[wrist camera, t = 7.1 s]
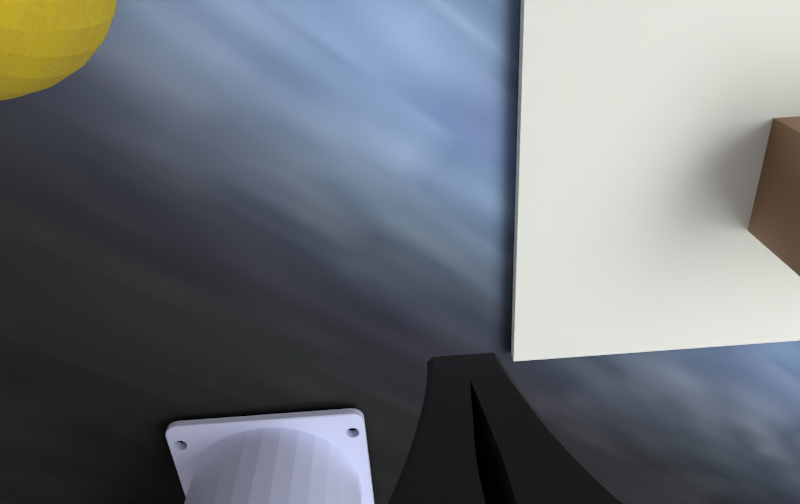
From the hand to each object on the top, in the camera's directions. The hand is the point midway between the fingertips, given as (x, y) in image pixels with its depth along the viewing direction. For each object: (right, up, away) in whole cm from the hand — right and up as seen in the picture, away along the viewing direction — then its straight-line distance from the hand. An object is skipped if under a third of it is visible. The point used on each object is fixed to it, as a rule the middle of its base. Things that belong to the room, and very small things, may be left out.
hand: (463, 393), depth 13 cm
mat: (+12, +6, +9) cm, 16 cm away
